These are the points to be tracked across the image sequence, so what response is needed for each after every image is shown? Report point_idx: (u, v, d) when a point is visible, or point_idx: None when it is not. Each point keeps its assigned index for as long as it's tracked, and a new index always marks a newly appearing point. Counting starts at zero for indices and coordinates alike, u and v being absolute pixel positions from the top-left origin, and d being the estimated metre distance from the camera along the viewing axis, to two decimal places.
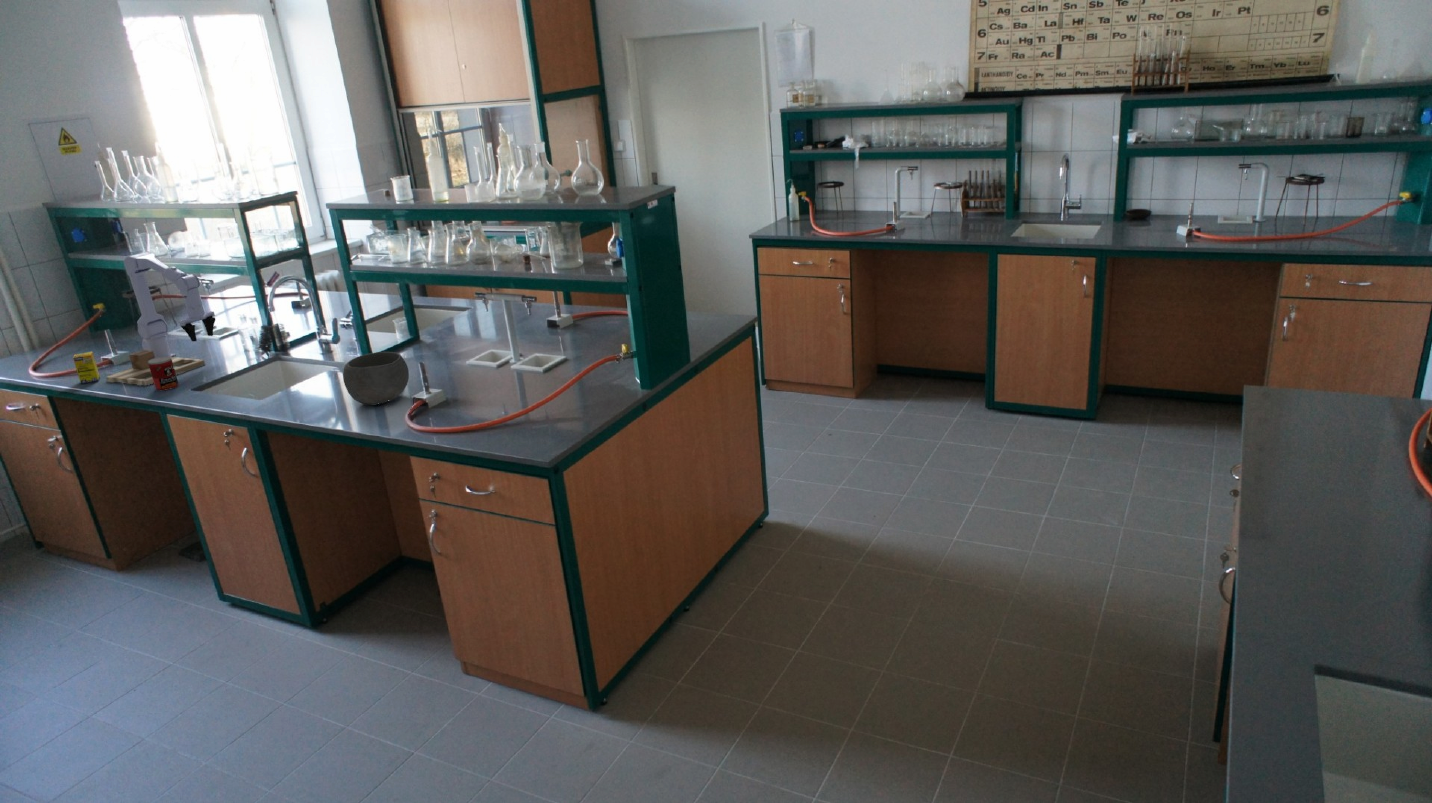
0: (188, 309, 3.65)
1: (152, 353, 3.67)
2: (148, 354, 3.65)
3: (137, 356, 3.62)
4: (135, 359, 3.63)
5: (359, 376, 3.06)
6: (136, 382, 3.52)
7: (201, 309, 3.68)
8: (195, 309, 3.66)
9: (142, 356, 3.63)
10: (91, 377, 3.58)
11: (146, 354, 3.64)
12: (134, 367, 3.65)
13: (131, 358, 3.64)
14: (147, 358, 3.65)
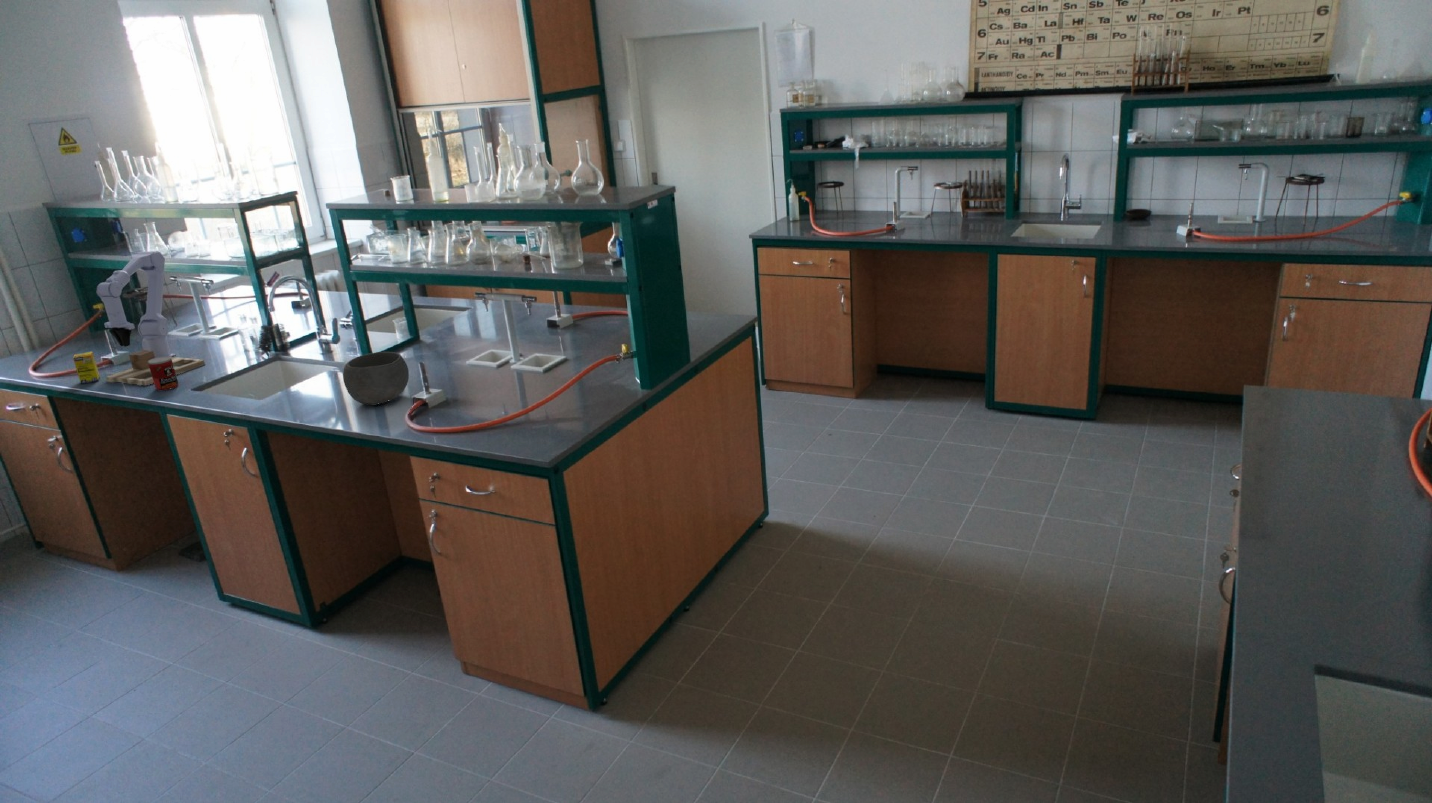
0: None
1: (152, 353, 3.67)
2: (148, 354, 3.65)
3: (137, 356, 3.62)
4: (135, 359, 3.63)
5: (359, 376, 3.05)
6: (136, 382, 3.52)
7: (111, 318, 3.61)
8: None
9: (142, 356, 3.63)
10: (91, 377, 3.58)
11: (146, 354, 3.64)
12: (134, 367, 3.65)
13: (131, 358, 3.64)
14: (147, 358, 3.65)
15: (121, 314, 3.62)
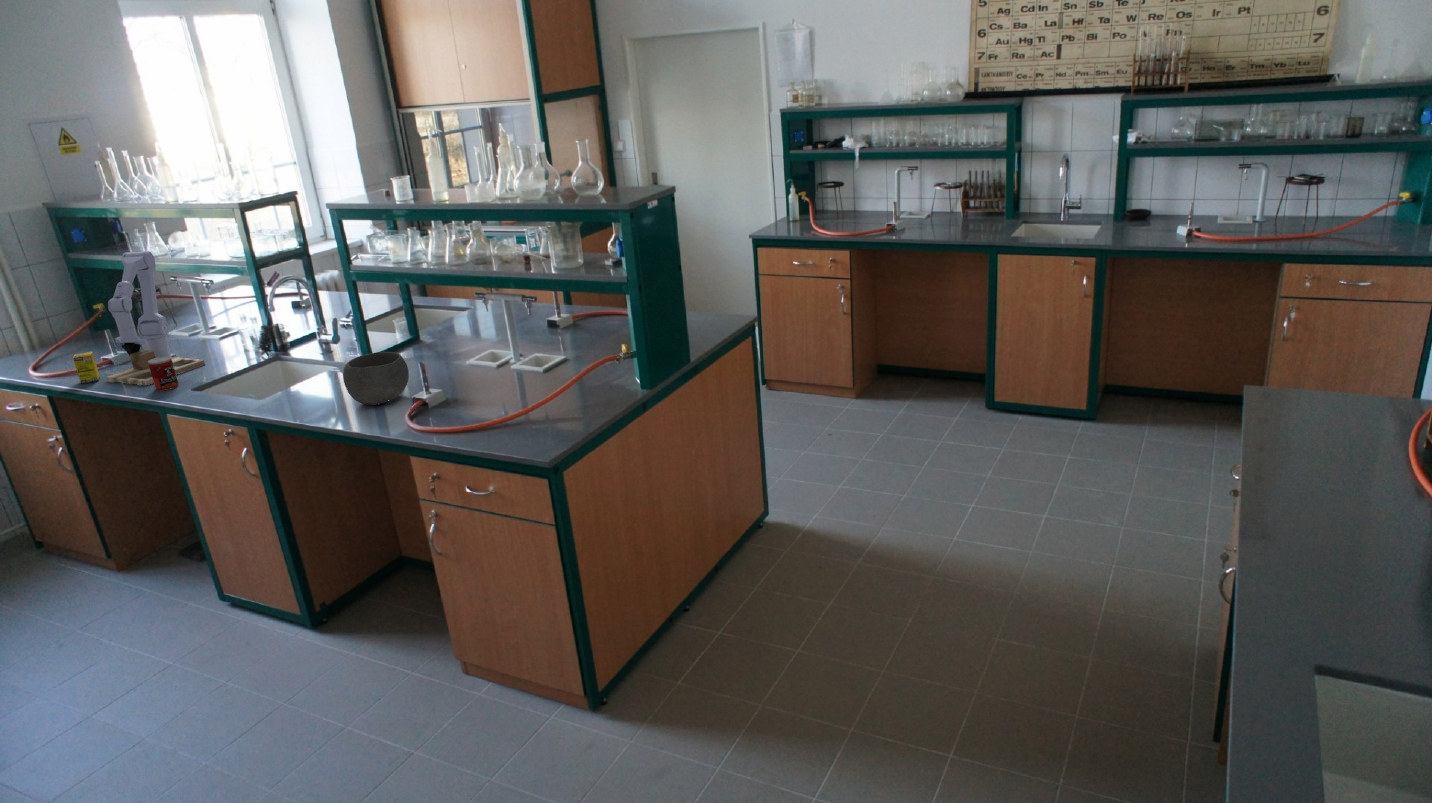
0: None
1: (153, 353, 3.66)
2: (149, 354, 3.65)
3: (138, 356, 3.62)
4: (135, 359, 3.63)
5: (359, 376, 3.06)
6: (136, 382, 3.52)
7: (122, 333, 3.61)
8: None
9: (143, 356, 3.63)
10: (91, 377, 3.58)
11: (147, 354, 3.64)
12: (135, 367, 3.65)
13: (132, 358, 3.64)
14: (148, 358, 3.65)
15: (131, 329, 3.62)
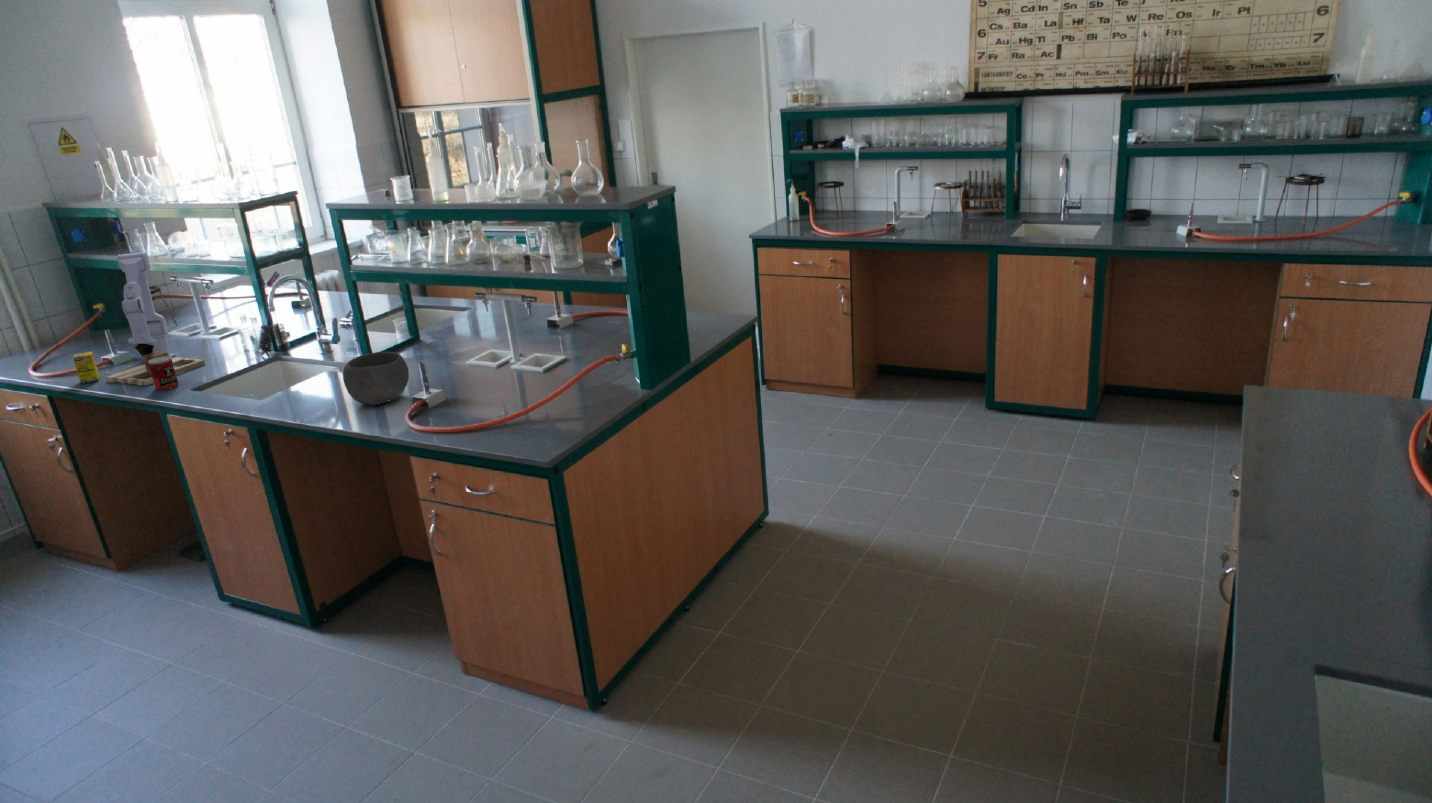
0: None
1: (166, 354, 3.64)
2: (162, 355, 3.62)
3: (151, 357, 3.59)
4: (148, 360, 3.60)
5: (359, 376, 3.05)
6: (136, 382, 3.52)
7: (135, 335, 3.58)
8: (132, 332, 3.59)
9: (156, 357, 3.60)
10: (91, 377, 3.58)
11: (160, 355, 3.61)
12: (148, 368, 3.62)
13: (145, 359, 3.61)
14: None
15: (145, 330, 3.60)
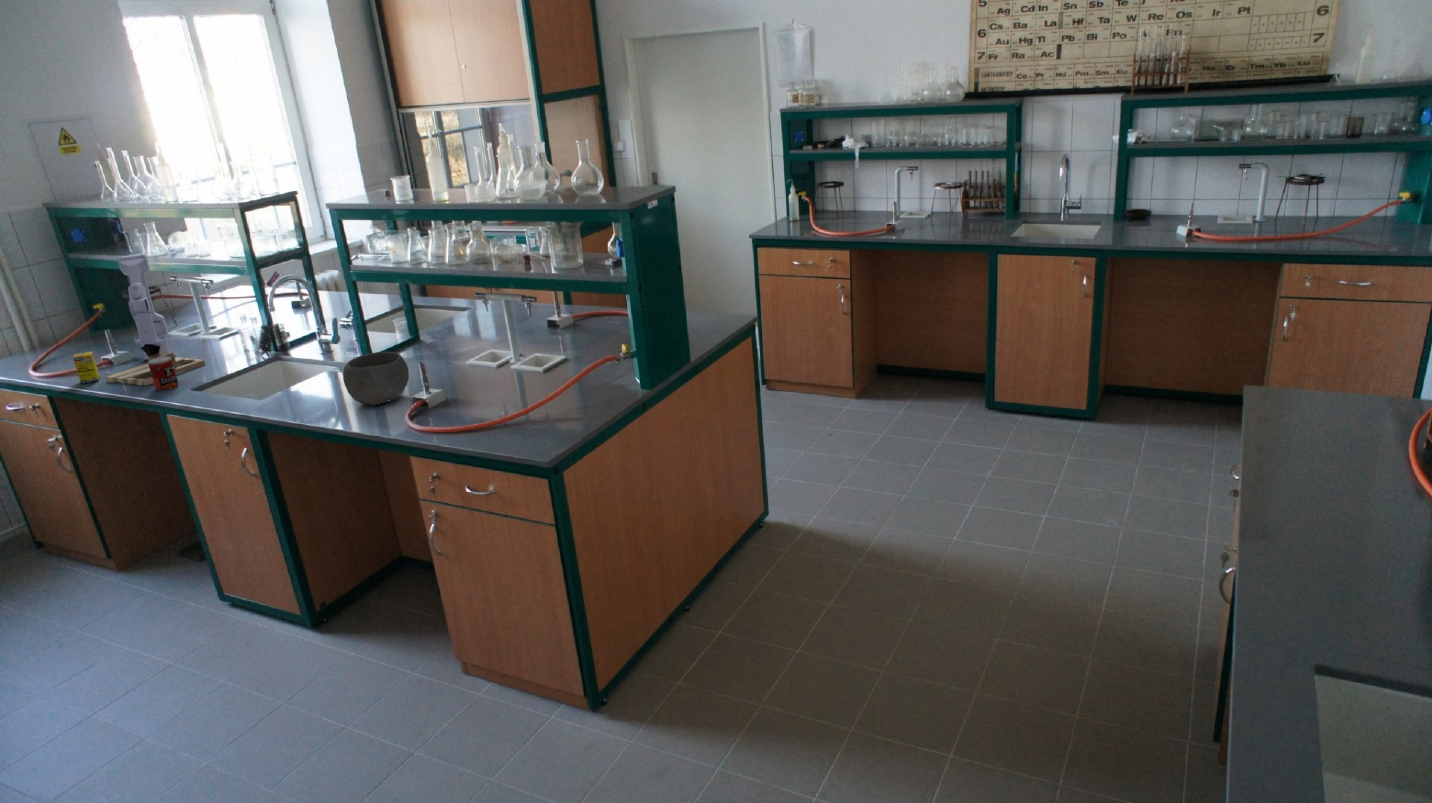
0: None
1: (173, 354, 3.62)
2: (168, 356, 3.61)
3: None
4: None
5: (359, 376, 3.06)
6: (136, 382, 3.52)
7: (142, 335, 3.57)
8: None
9: None
10: (91, 377, 3.58)
11: None
12: None
13: None
14: None
15: (151, 331, 3.58)
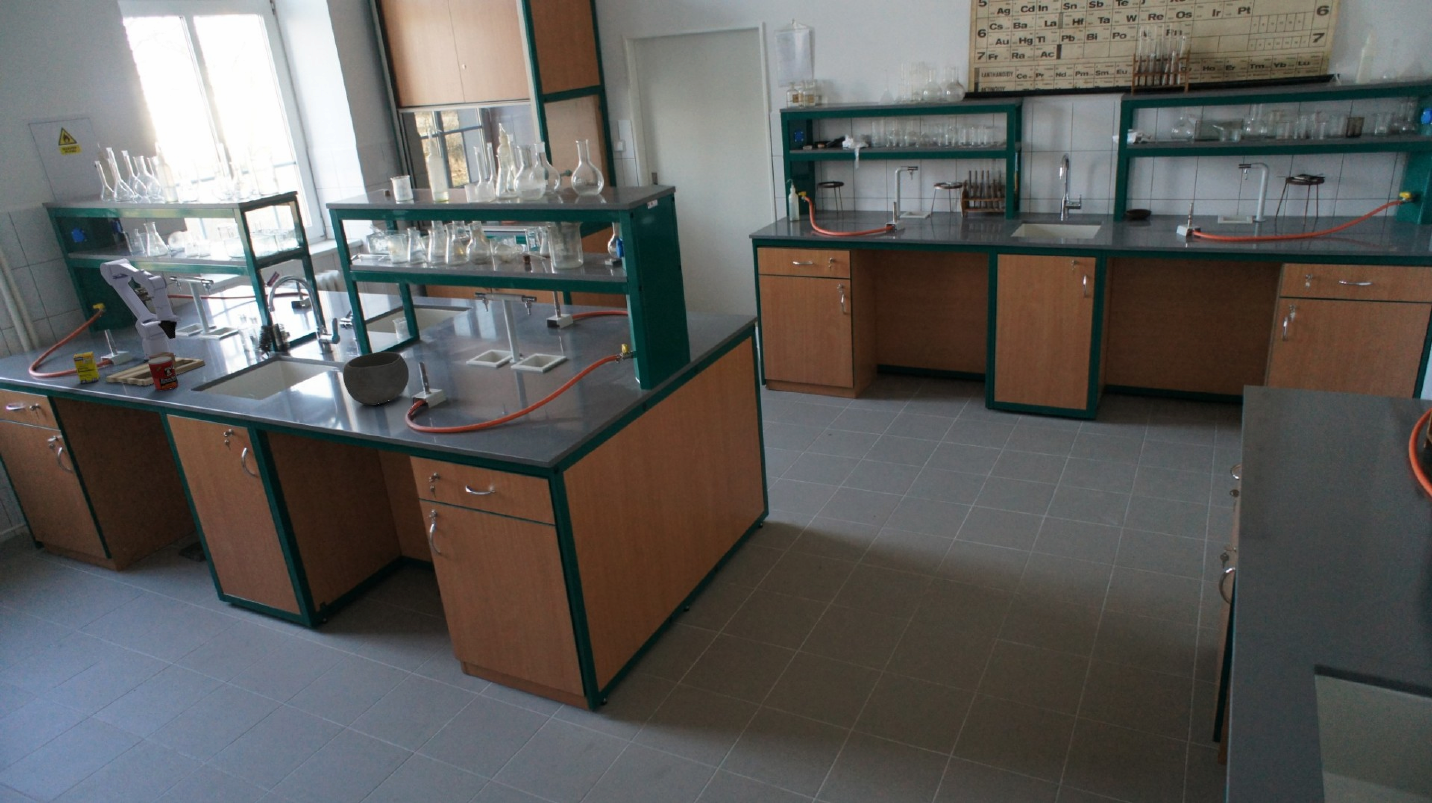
0: None
1: (172, 354, 3.62)
2: (168, 356, 3.61)
3: None
4: None
5: (359, 376, 3.06)
6: (136, 382, 3.52)
7: (158, 311, 3.71)
8: (155, 310, 3.72)
9: None
10: (91, 377, 3.58)
11: None
12: None
13: None
14: None
15: (167, 307, 3.72)
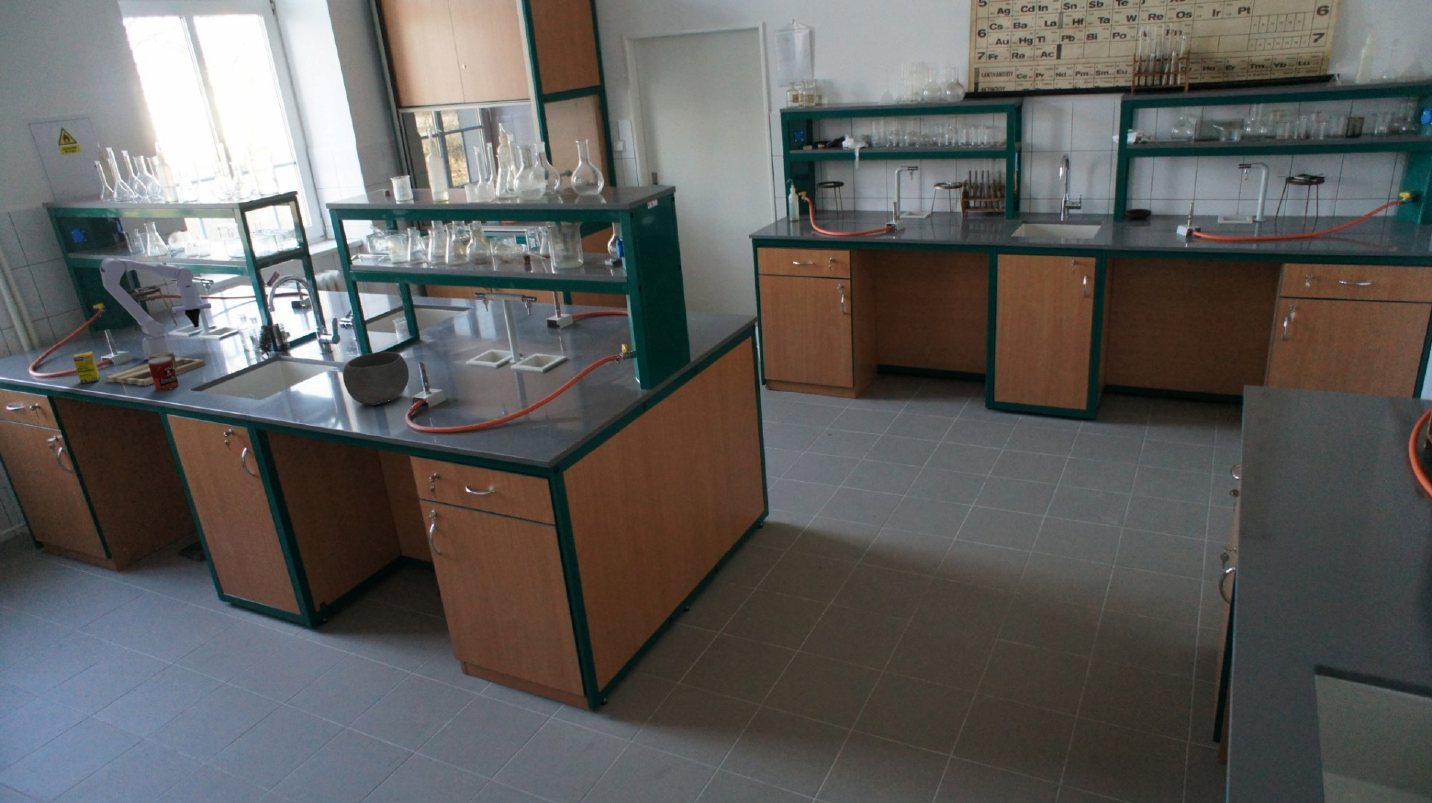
0: None
1: (172, 354, 3.62)
2: (168, 356, 3.61)
3: None
4: None
5: (359, 376, 3.05)
6: (136, 382, 3.52)
7: (190, 300, 3.87)
8: (184, 299, 3.87)
9: None
10: (91, 377, 3.58)
11: None
12: None
13: None
14: None
15: (196, 296, 3.90)
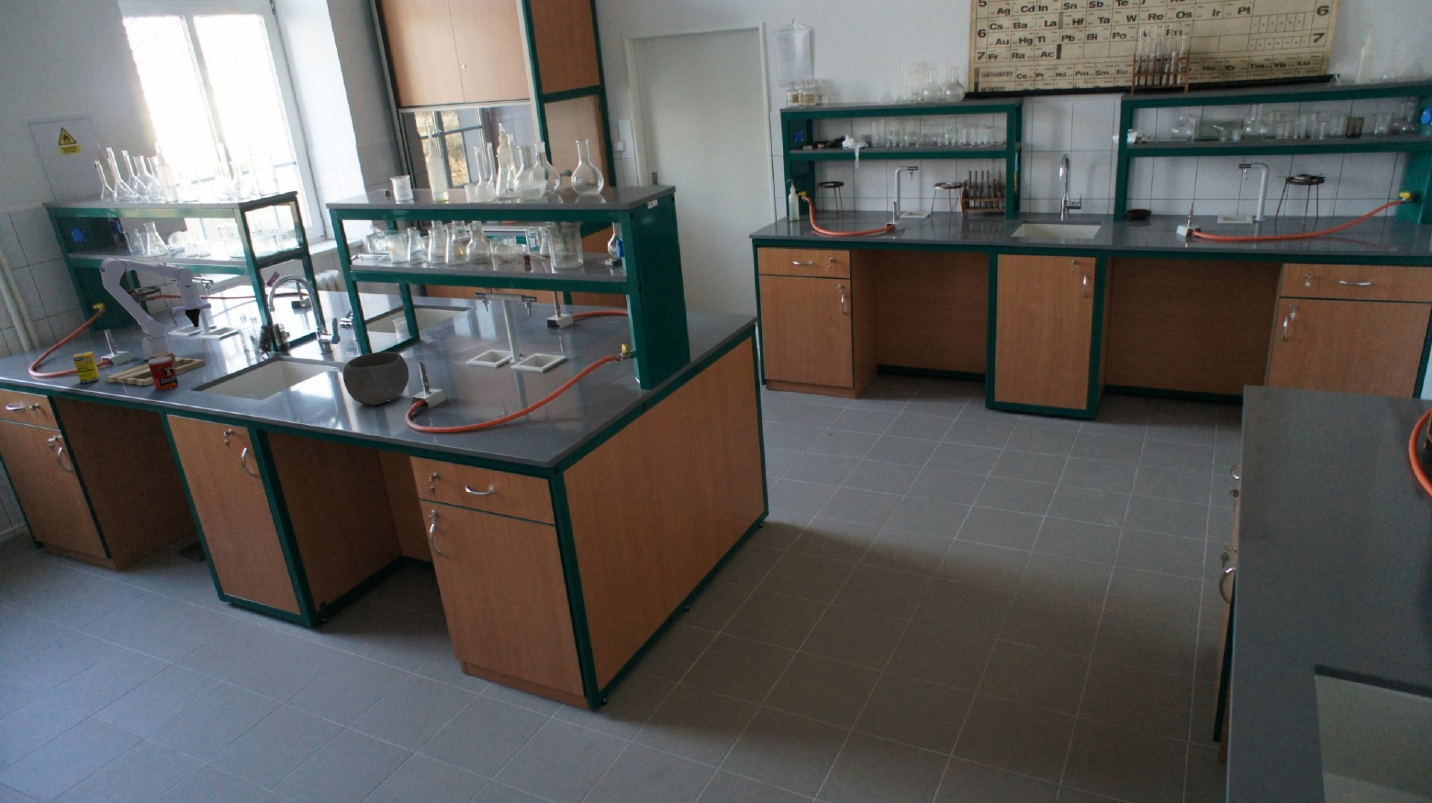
0: None
1: (172, 354, 3.62)
2: (168, 356, 3.61)
3: None
4: None
5: (359, 376, 3.06)
6: (136, 382, 3.52)
7: (190, 300, 3.87)
8: (184, 299, 3.87)
9: None
10: (91, 377, 3.58)
11: None
12: None
13: None
14: None
15: (196, 296, 3.90)
